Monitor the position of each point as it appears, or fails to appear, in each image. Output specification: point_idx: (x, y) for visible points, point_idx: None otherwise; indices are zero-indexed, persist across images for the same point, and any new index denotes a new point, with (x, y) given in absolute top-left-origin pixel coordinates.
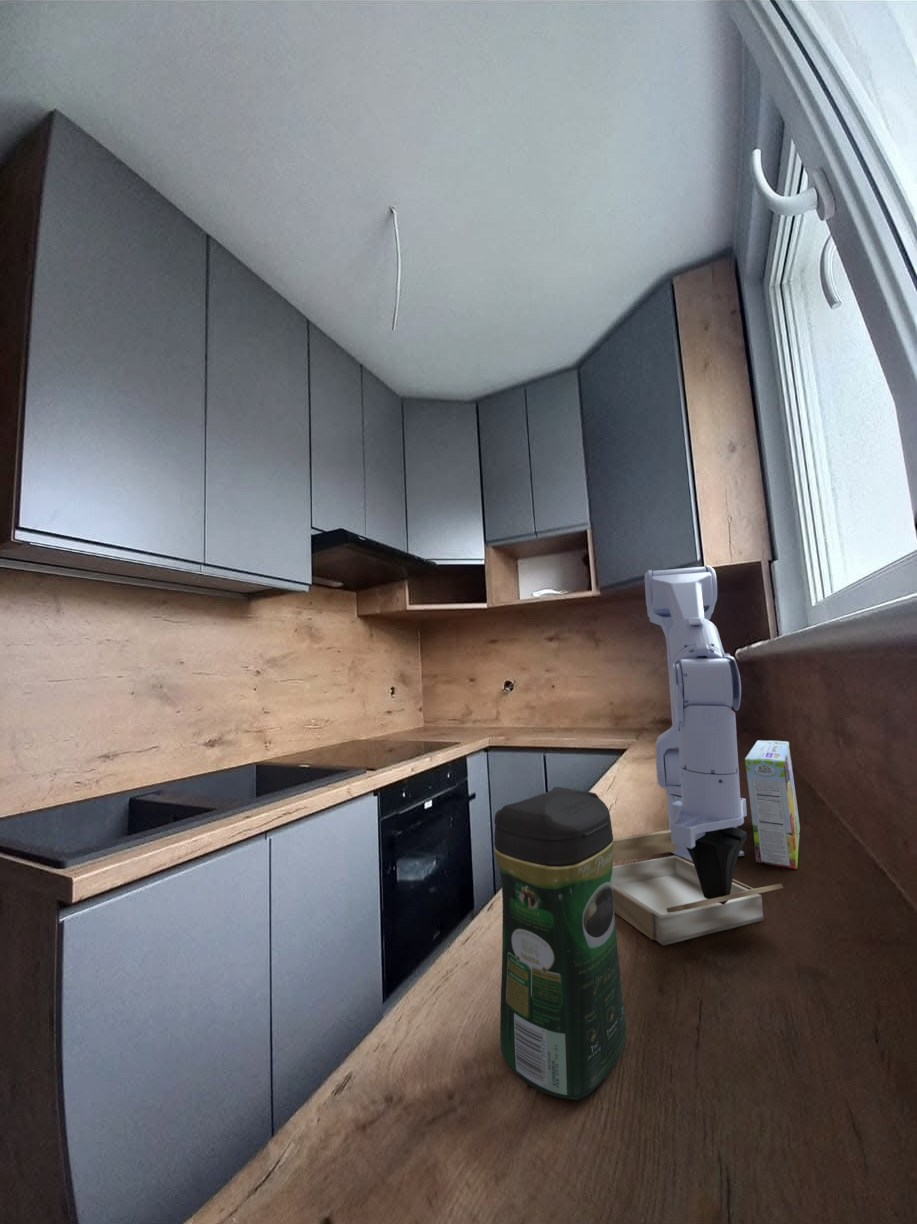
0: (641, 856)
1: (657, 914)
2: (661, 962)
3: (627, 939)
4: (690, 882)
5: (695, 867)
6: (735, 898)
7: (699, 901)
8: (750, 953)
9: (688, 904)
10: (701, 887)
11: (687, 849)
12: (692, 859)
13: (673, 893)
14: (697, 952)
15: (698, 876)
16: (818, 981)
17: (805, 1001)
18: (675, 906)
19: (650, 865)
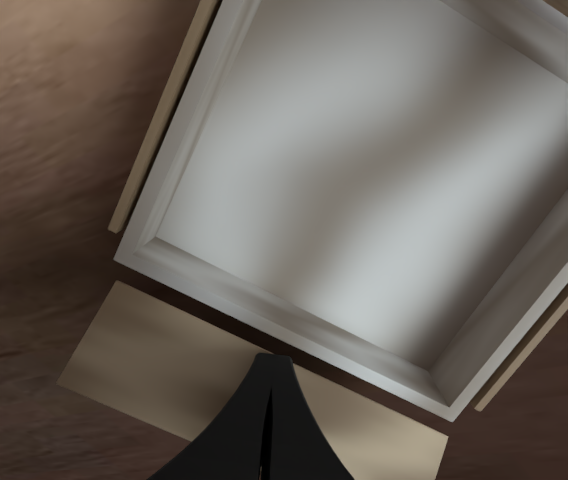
0: (556, 8)
1: (125, 243)
2: (75, 258)
3: (103, 156)
4: (566, 182)
5: (222, 409)
6: None
7: (143, 386)
8: None
9: (61, 385)
10: (251, 366)
11: (169, 462)
12: (201, 432)
13: (443, 166)
14: (174, 304)
15: (239, 387)
16: None
17: (156, 467)
18: (111, 315)
19: (563, 46)
